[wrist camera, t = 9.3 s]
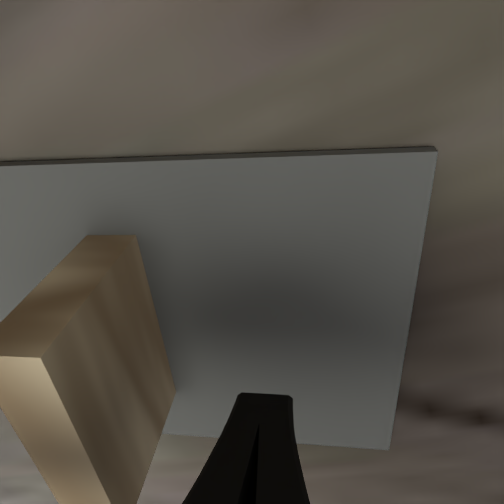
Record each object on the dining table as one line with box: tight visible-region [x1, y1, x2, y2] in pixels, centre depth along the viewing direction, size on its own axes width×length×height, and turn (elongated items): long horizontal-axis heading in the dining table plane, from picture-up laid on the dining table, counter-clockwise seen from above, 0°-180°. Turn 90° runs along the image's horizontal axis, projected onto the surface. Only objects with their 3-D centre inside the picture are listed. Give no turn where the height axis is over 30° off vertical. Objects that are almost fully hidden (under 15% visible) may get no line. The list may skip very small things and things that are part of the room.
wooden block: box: [0, 235, 176, 504], centre depth 12 cm, size 2×7×5 cm, turn 4°
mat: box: [0, 147, 438, 450], centre depth 14 cm, size 16×12×1 cm
